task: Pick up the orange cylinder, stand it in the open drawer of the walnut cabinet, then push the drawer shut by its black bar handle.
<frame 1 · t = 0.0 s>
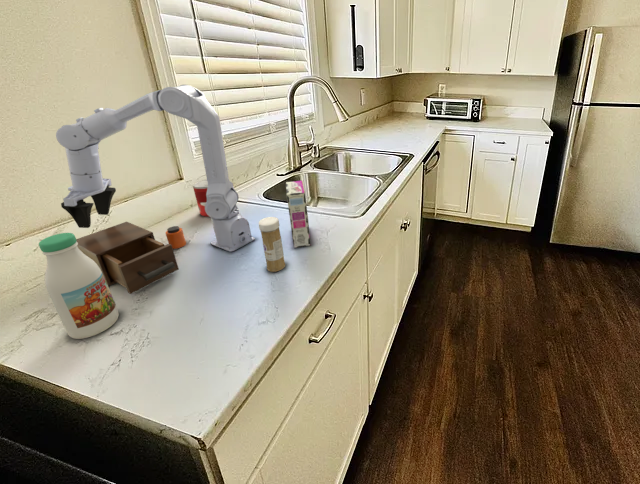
hand: (94, 220, 86), 11 cm above the worktop, tool pointing down, fingers open, 7 cm apart
orange cylinder: (178, 245, 94), on the worktop
cabinet: (123, 265, 84), on the worktop
drawer: (142, 263, 78), point 4 cm above the worktop, slide at 8.0 cm
milk bottle: (95, 325, 65), on the worktop
red coffee cup: (213, 212, 114), on the worktop
candy bar box: (301, 238, 97), on the worktop
sprinkles bottle: (276, 268, 83), on the worktop
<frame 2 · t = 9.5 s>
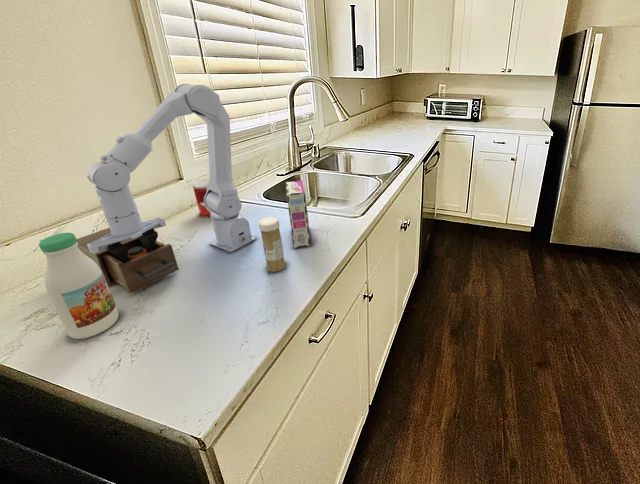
hand: (140, 264, 78), 4 cm above the worktop, tool pointing down, fingers closed on orange cylinder, 4 cm apart
orange cylinder: (142, 268, 79), point 2 cm above the worktop, touching gripper
everything else where it was.
when the fingers open (6 cm above the worktop, at t = 16.3 s): orange cylinder stays where it is, resting on drawer.
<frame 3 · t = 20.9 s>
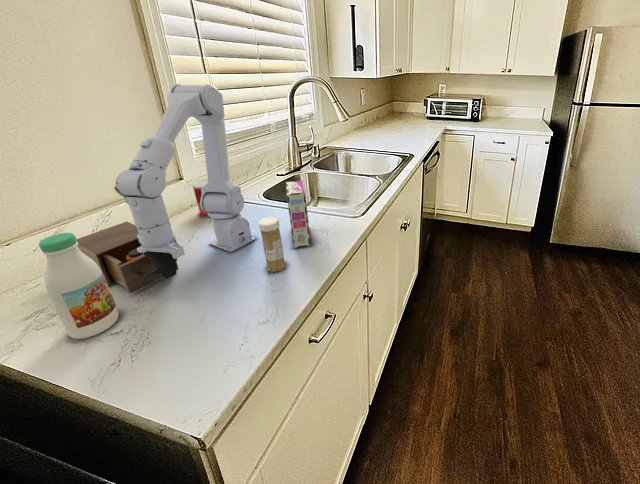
hand: (170, 275, 75), 3 cm above the worktop, tool pointing down, fingers closed
orange cylinder: (142, 270, 79), point 2 cm above the worktop, touching drawer
drawer: (142, 263, 78), point 4 cm above the worktop, slide at 8.0 cm, touching gripper, orange cylinder
everything else where it was.
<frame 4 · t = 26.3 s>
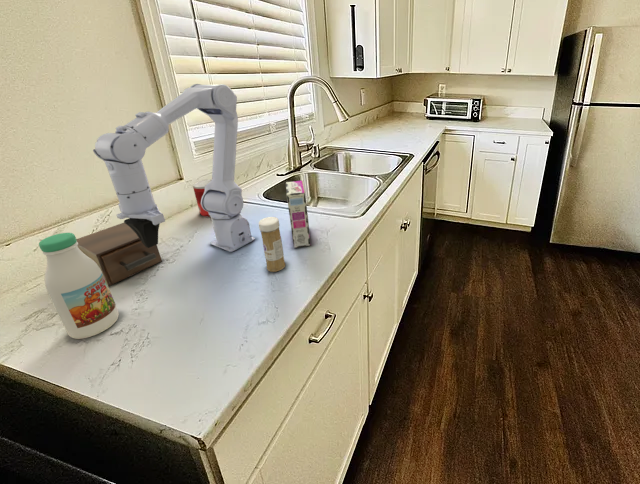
hand: (151, 245, 74), 10 cm above the worktop, tool pointing down, fingers closed
orange cylinder: (125, 262, 83), point 2 cm above the worktop, touching drawer
drawer: (125, 255, 81), point 4 cm above the worktop, slide at -0.2 cm, touching cabinet, orange cylinder
everything else where it was.
at the end: orange cylinder inside the target area in the cabinet (2.0 cm from its centre), point 1.8 cm above the cabinet's base; drawer slide at -0.1 cm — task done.
